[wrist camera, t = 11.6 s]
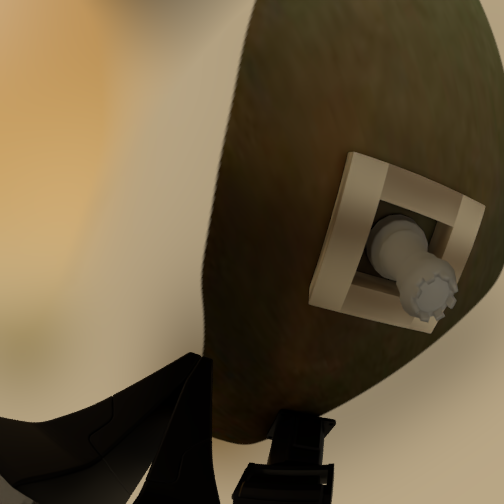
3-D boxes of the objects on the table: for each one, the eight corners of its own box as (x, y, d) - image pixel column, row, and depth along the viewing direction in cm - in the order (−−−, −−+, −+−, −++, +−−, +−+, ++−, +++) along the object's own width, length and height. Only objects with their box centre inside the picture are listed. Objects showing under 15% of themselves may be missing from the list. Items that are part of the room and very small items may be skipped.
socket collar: (421, 315, 19) (430, 333, 16) (309, 286, 20) (308, 304, 18) (468, 199, 15) (485, 206, 13) (348, 152, 16) (353, 151, 14)
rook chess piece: (400, 282, 18) (436, 349, 11) (353, 255, 18) (373, 319, 11) (431, 231, 16) (487, 278, 9) (384, 200, 17) (429, 234, 9)
